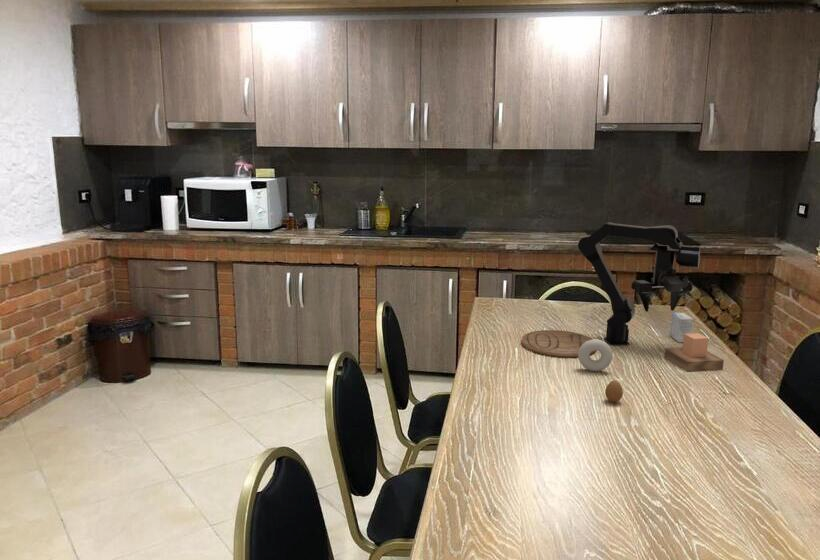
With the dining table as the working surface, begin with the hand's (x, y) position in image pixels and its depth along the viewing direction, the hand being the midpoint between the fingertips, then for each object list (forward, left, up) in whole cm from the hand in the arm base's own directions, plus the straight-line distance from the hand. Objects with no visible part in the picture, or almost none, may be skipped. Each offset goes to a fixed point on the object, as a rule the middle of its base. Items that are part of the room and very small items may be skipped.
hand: (659, 310), depth 210 cm
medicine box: (+14, +8, -13) cm, 21 cm away
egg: (-35, -39, -13) cm, 54 cm away
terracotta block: (+4, -15, -10) cm, 18 cm away
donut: (-30, -17, -13) cm, 37 cm away
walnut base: (+4, -15, -13) cm, 20 cm away
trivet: (-31, +7, -14) cm, 35 cm away
